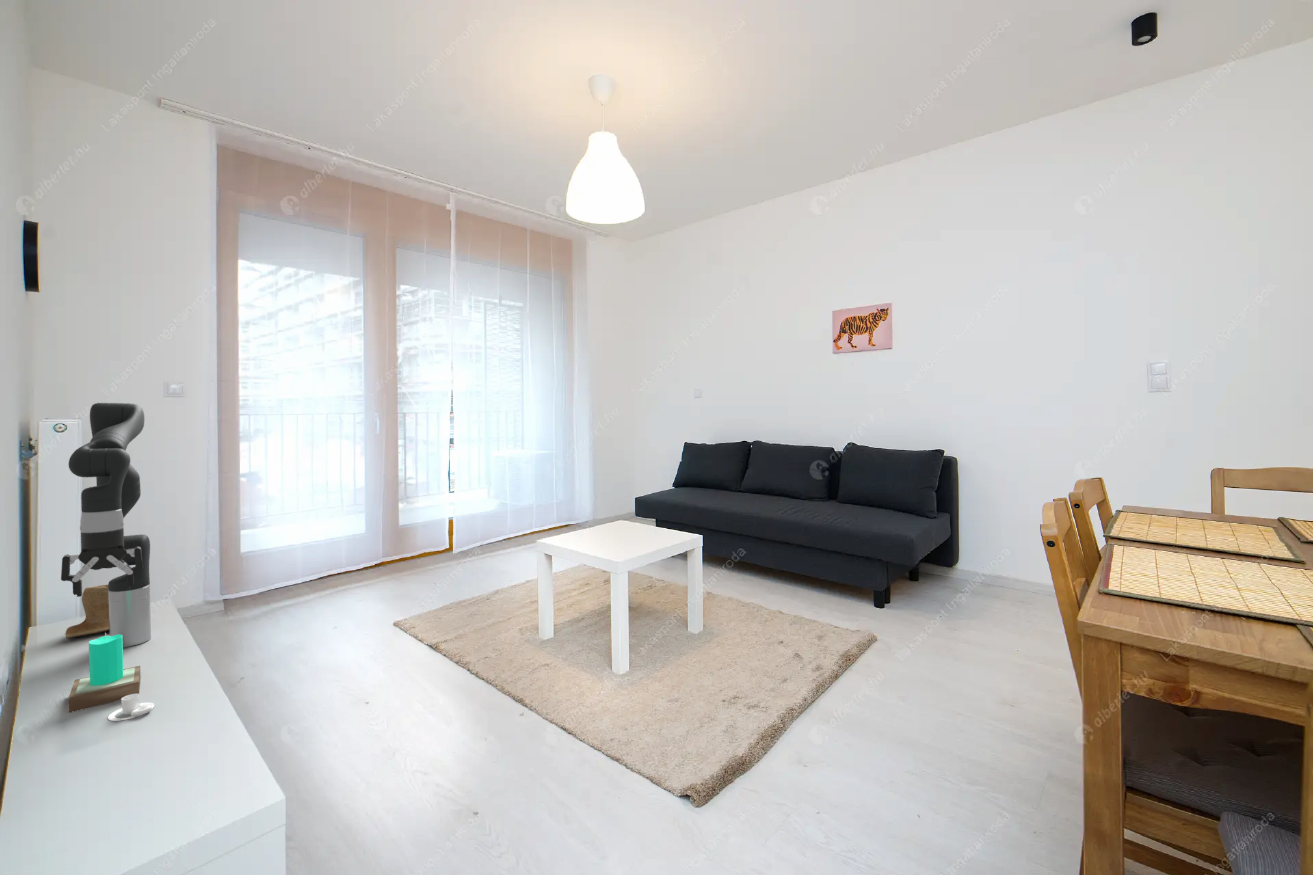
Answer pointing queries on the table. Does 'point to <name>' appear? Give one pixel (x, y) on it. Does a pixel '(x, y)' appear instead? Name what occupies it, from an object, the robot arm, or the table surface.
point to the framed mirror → (103, 690)
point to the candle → (106, 659)
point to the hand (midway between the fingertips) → (104, 592)
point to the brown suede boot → (92, 612)
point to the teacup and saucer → (131, 707)
